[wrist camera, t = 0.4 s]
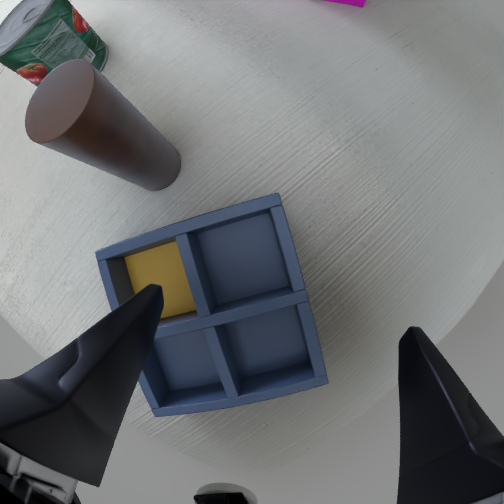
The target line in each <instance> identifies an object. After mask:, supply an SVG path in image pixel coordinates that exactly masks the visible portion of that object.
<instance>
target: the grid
mask: <svg viewBox="0 0 504 504" xmlns="http://www.w3.org/2000/svg"><path fill="white" fill-rule="evenodd" d="M95 254H96V258H97V261H98V266H99V270H100V274H101V277H102V281H103V284H104V288H105V291H106V295H107V298H108V301H109V304H110V307H111V311H113V310H115V309H116V308H117V307H119V306H120V305H121V304H123V303H124V302H125V301H127V300H128V299H129V298H131V297H132V296H134V295H135V294H136V293H138V292H139V291H140V290H142V289H143V288H145V287H146V286H147V285H149V284H151V283H152V284H157V285H160V286H162V289H163V296H164V308H163V311H162V314H161V318H160V321H159V324H158V328H157V331H156V334H155V338H154V341H153V344H152V347H151V350H150V352H149V354H148V357H147V359H146V362H145V364H144V366H143V369H142V371H141V374H140V376H139V379H138V382H139V384H140V386H141V388H142V391H143V393H144V395H145V397H146V399H147V401H148V403H149V406H150V408H151V410H152V412H153V414H154V416H155V417H162V416H172V415H181V414H190V413H198V412H205V411H211V410H218V409H224V408H229V407H235V406H240V405H245V404H250V403H255V402H260V401H264V400H269V399H273V398H277V397H281V396H285V395H289V394H293V393H297V392H301V391H304V390H308V389H311V388H315V387H318V386H321V385H325V384H328V383H329V382H328V378H327V374H326V369H325V365H324V360H323V356H322V352H321V347H320V343H319V339H318V335H317V331H316V327H315V323H314V319H313V315H312V311H311V307H310V303H309V301H308V300H309V299H308V295H307V291H306V289H305V284H304V280H303V276H302V272H301V269H300V265H299V261H298V258H297V254H296V251H295V247H294V243H293V240H292V236H291V233H290V229H289V226H288V222H287V219H286V215H285V212H284V209H283V206H282V202H281V199H280V195H279V193H274V194H271V195H267V196H263V197H260V198H256V199H253V200H249V201H246V202H242V203H239V204H236V205H232V206H229V207H226V208H222V209H219V210H216V211H212V212H209V213H206V214H203V215H199V216H196V217H193V218H190V219H187V220H184V221H181V222H177V223H174V224H171V225H168V226H165V227H162V228H159V229H156V230H153V231H150V232H147V233H144V234H142V235H139V236H136V237H133V238H130V239H127V240H124V241H122V242H119V243H116V244H113V245H110V246H108V247H105V248H102V249H99V250H97V251H95Z"/></svg>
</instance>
